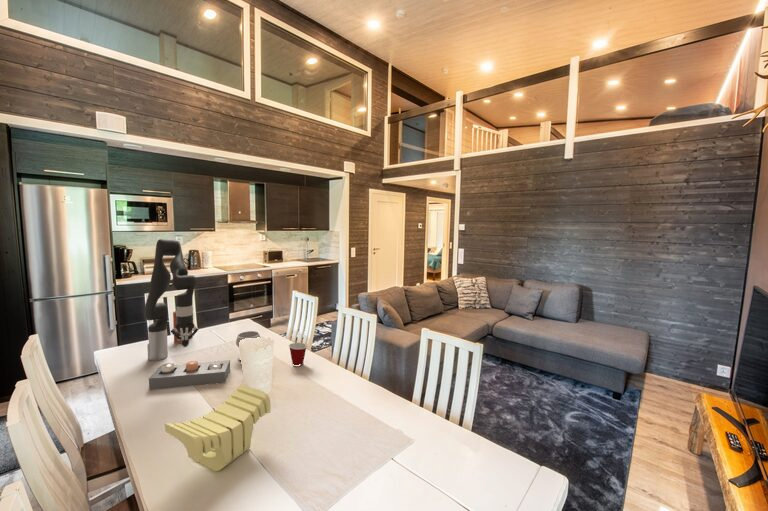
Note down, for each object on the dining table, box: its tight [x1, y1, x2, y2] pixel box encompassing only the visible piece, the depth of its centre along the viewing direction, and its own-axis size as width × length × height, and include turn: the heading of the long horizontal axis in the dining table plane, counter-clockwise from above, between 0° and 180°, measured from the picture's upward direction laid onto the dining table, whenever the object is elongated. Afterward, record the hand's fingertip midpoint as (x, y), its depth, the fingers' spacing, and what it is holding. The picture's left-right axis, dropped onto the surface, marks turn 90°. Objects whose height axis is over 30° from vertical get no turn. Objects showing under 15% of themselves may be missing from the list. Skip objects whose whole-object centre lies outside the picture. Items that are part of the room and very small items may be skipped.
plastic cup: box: [288, 342, 308, 365], centre depth 193 cm, size 11×11×12 cm
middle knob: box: [185, 360, 199, 372], centre depth 172 cm, size 6×6×5 cm
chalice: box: [235, 330, 261, 362], centre depth 201 cm, size 14×14×15 cm
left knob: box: [160, 362, 175, 374], centre depth 169 cm, size 6×6×5 cm
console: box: [148, 359, 231, 391], centre depth 172 cm, size 34×15×6 cm, turn 106°
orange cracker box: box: [172, 310, 193, 344], centre depth 227 cm, size 21×7×15 cm
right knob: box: [209, 364, 221, 370], centre depth 175 cm, size 6×6×5 cm
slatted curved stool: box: [164, 383, 271, 472], centre depth 117 cm, size 30×16×18 cm, turn 154°
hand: (185, 346), depth 170 cm, fingers closed
